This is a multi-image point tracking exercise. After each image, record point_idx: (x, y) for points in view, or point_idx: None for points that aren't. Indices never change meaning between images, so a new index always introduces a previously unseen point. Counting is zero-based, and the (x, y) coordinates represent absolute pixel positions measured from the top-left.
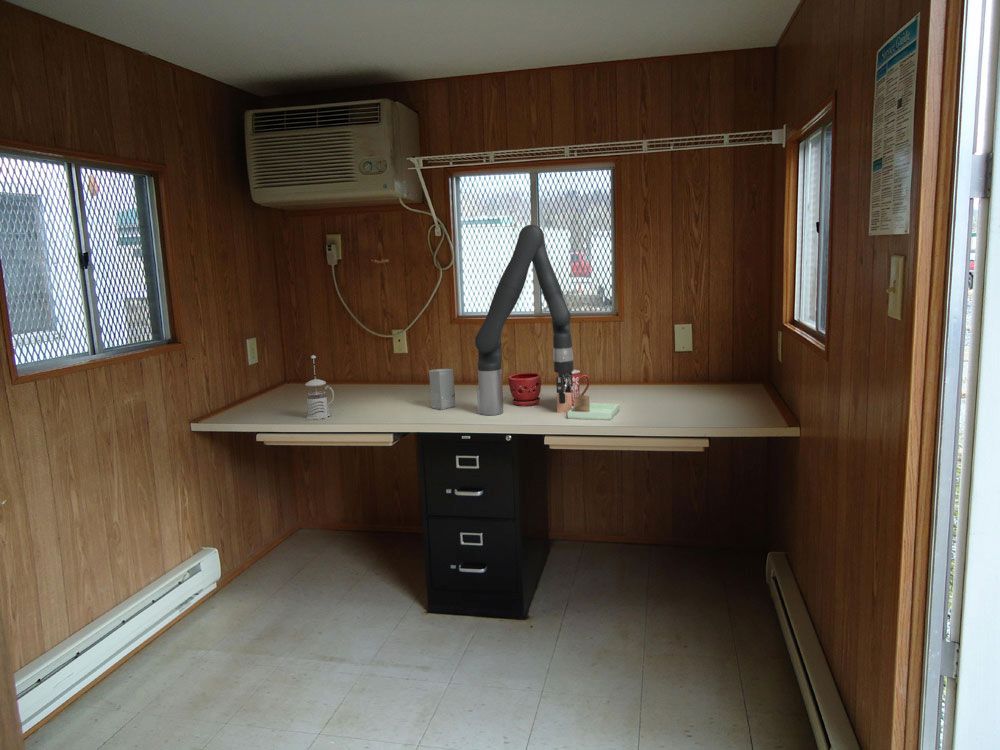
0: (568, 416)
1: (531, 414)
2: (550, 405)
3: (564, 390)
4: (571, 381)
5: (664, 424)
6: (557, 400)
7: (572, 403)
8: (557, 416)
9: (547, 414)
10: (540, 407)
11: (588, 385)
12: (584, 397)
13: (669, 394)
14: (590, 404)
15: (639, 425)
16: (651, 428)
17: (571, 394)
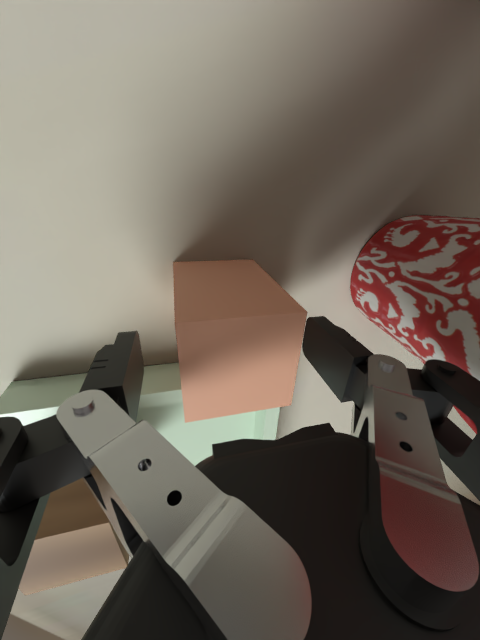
0: (5, 396)
1: (3, 5)
2: (393, 136)
3: (95, 484)
4: (441, 458)
5: (97, 608)
6: (175, 298)
7: (359, 304)
8: (48, 301)
9: (80, 203)
10: (334, 49)
11: (475, 431)
12: (43, 580)
13: (455, 487)
14: (262, 428)
15: (50, 589)
16: (26, 616)
17: (399, 330)
